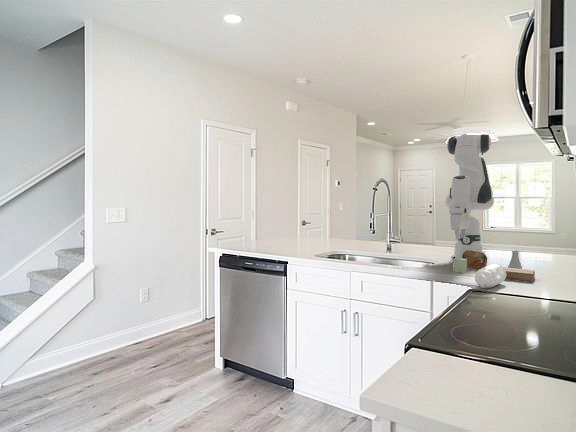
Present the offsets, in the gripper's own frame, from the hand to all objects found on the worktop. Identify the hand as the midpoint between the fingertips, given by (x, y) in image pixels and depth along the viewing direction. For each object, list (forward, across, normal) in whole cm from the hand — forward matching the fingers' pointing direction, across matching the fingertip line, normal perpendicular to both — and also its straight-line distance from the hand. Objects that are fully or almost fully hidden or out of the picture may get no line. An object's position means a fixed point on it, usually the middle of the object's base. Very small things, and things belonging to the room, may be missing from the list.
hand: (460, 238), depth 180 cm
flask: (+16, -15, +21) cm, 30 cm away
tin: (+16, -16, +3) cm, 23 cm away
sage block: (+16, 0, 0) cm, 16 cm away
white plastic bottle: (+17, +26, +18) cm, 36 cm away
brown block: (+16, +3, +24) cm, 29 cm away
